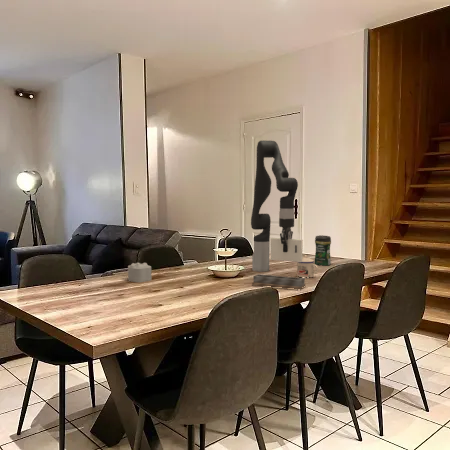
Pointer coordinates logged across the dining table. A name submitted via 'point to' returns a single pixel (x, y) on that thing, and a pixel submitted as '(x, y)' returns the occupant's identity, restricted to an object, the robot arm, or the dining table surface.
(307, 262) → the teacup with lid
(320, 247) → the coffee jar
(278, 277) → the door track
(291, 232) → the robot arm
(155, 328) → the dining table surface
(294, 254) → the door panel
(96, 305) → the dining table surface
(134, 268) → the lumpy-topped squat cylinder
